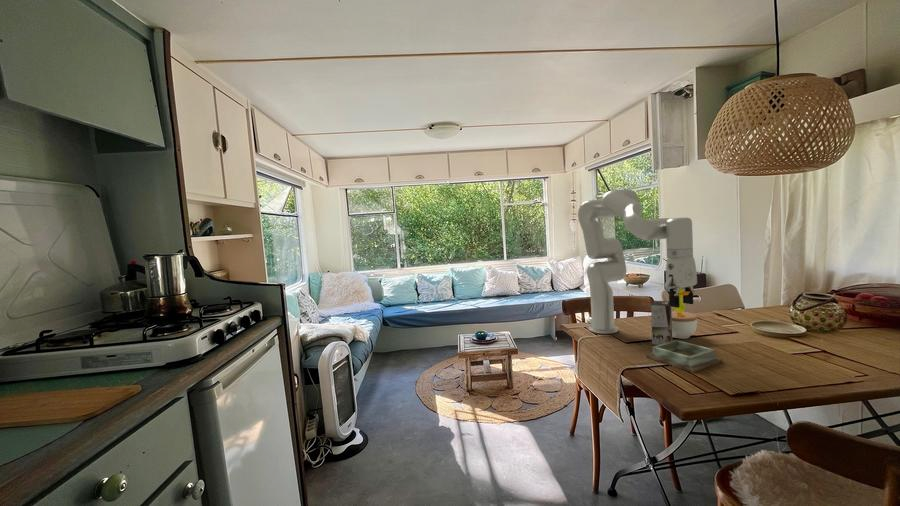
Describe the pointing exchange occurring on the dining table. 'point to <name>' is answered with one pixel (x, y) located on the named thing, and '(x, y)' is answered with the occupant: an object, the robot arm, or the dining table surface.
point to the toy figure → (682, 306)
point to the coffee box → (661, 322)
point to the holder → (684, 355)
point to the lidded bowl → (683, 325)
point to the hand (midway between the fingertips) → (681, 304)
